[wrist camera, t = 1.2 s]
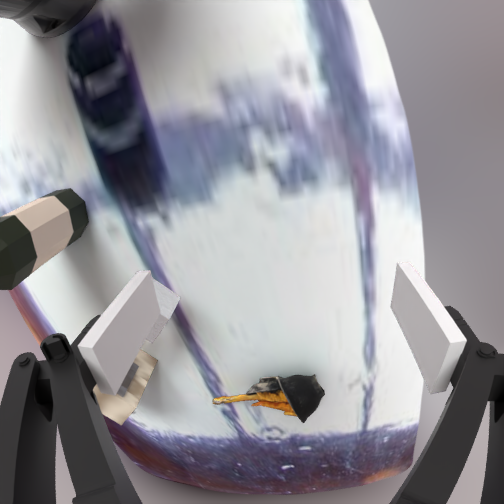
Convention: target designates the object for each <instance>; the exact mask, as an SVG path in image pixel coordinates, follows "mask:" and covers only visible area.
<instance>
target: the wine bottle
mask: <svg viewBox="0 0 504 504" xmlns="http://www.w3.org/2000/svg"><path fill="white" fill-rule="evenodd" d="M88 222H89V221H88V216H87V211H86V206H85V201H84V200H82V199H81V198H80V197H79V196H78V195H77V194H76V193H75V192H74V191H73V190H72V189H71V188H70V189H64V190H58V191H54V192H52V193H50V194H48V195H45V196H43V197H41V198H39V199H37V200H34V201H32V202H30V203H28V204H26V205H24V206H22V207H20V208H18V209H16V210H14V211H12V212H10V213H8V214H6V215H4V216H2V217H0V290H12V289H13V288H14V287H16V286H17V285H18V284H19V283H20V282H22V281H23V280H24V279H25V278H27V277H28V276H29V275H30V274H32V273H33V272H34V271H35V270H37V269H38V268H39V267H41V266H42V265H43V264H44V263H46V262H47V261H48V260H50V259H51V258H52V257H54V256H55V255H56V254H58V253H59V252H60V251H62V250H63V249H64V248H66V247H67V246H69V245H70V244H71V243H73V242H74V241H76V240H77V239H78V238H80V237H81V235H82V233H83V232H84V230H85V228H86V226H87V224H88Z"/></svg>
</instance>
